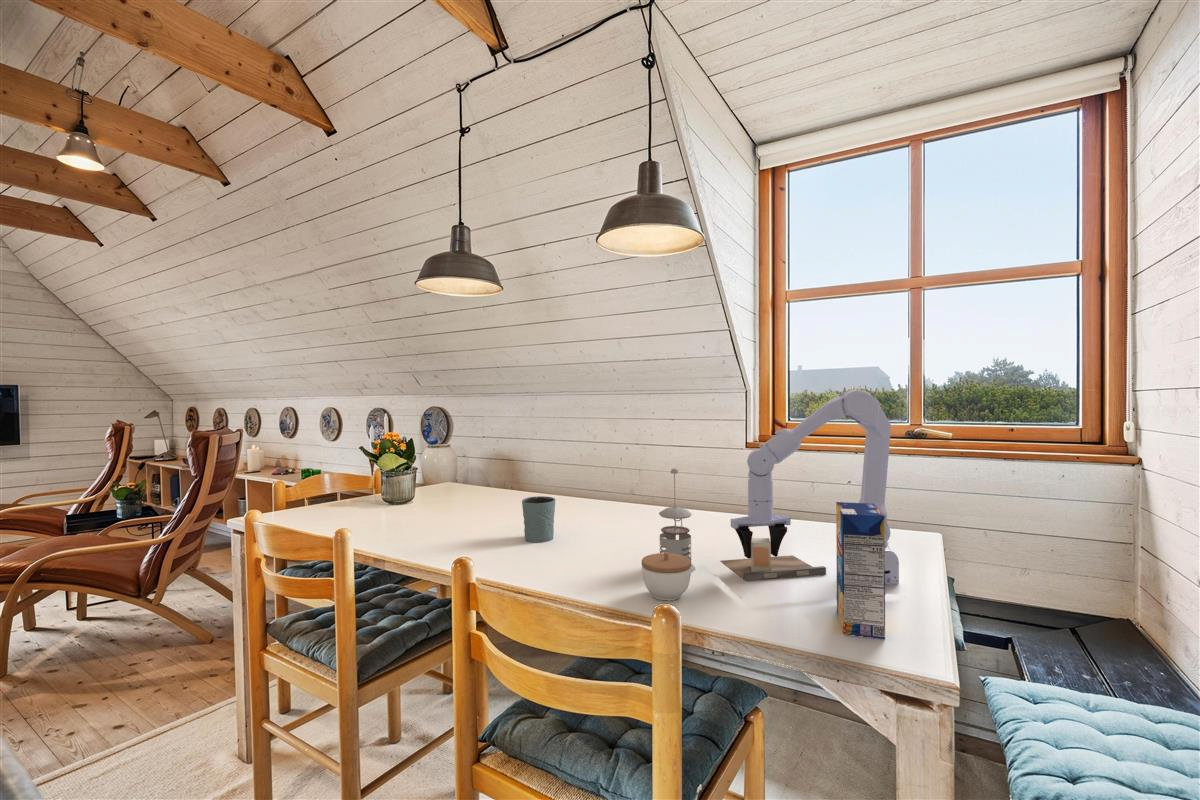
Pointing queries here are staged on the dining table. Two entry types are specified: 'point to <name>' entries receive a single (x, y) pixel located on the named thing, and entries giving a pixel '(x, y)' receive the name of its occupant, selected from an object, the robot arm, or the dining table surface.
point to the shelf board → (774, 568)
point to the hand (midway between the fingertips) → (760, 556)
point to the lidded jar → (666, 575)
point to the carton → (760, 554)
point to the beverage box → (860, 569)
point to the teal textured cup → (538, 518)
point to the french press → (676, 531)
